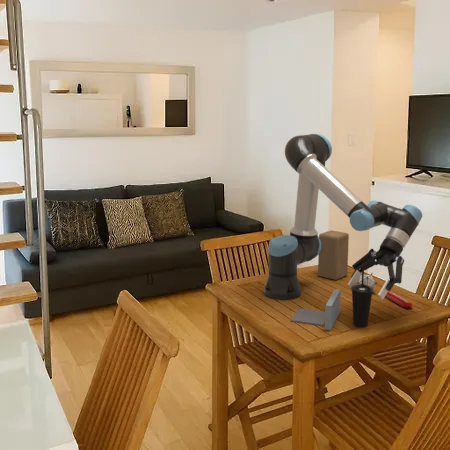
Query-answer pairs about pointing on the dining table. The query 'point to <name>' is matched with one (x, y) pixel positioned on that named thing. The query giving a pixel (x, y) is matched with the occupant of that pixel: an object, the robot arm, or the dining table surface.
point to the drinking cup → (361, 303)
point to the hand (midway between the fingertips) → (364, 291)
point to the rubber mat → (309, 317)
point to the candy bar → (398, 299)
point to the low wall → (332, 309)
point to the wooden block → (333, 255)
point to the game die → (367, 280)
